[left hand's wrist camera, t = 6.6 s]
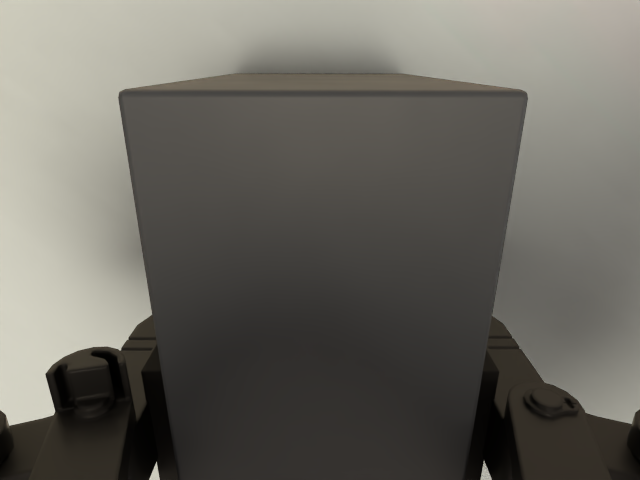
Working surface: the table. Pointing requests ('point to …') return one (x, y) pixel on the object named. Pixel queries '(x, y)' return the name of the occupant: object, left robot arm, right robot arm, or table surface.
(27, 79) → the table surface
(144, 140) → the post
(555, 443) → the left robot arm
